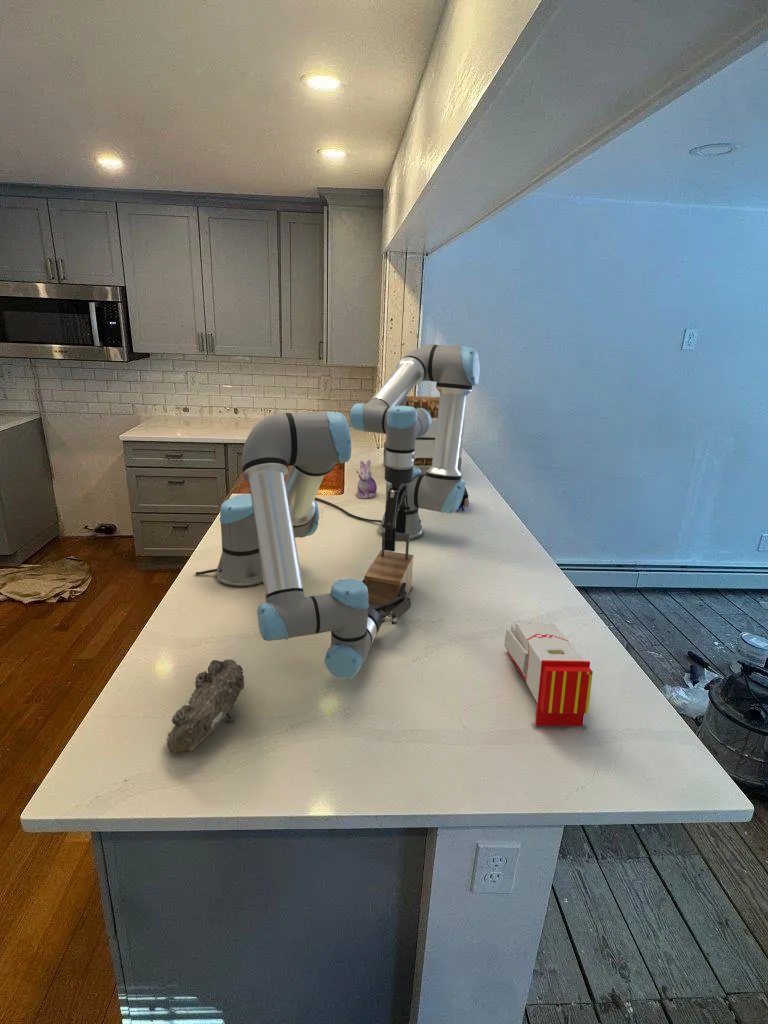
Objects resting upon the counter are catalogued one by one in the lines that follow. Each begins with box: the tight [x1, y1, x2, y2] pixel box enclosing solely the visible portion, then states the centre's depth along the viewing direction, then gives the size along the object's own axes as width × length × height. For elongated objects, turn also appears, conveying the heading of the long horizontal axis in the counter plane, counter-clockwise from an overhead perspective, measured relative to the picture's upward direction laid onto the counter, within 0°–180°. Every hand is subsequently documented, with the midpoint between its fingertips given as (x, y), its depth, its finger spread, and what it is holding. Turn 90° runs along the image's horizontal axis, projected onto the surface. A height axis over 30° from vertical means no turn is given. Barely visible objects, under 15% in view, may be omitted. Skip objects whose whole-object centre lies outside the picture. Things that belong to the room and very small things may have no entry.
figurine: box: [356, 459, 378, 499], centre depth 236 cm, size 9×10×15 cm
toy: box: [503, 622, 594, 727], centre depth 121 cm, size 12×13×30 cm
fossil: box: [166, 658, 245, 754], centre depth 106 cm, size 22×10×15 cm
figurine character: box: [458, 486, 470, 512], centre depth 229 cm, size 7×8×15 cm
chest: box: [364, 560, 414, 615], centre depth 154 cm, size 17×10×9 cm, turn 166°
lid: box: [363, 531, 415, 585], centre depth 151 cm, size 17×10×8 cm, turn 166°
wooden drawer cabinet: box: [383, 395, 465, 474], centre depth 268 cm, size 34×33×41 cm
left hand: (385, 584), depth 149 cm, fingers closed on chest, 10 cm apart
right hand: (395, 541), depth 156 cm, fingers open, 13 cm apart
